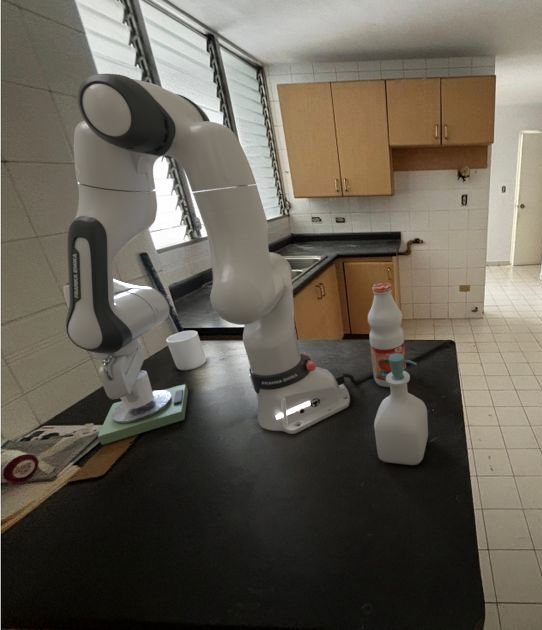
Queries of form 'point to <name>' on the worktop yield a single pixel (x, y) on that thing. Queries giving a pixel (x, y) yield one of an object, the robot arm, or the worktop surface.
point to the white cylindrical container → (140, 391)
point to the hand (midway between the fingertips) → (137, 393)
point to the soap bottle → (401, 419)
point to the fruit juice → (384, 332)
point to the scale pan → (141, 408)
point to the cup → (186, 350)
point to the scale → (161, 418)
